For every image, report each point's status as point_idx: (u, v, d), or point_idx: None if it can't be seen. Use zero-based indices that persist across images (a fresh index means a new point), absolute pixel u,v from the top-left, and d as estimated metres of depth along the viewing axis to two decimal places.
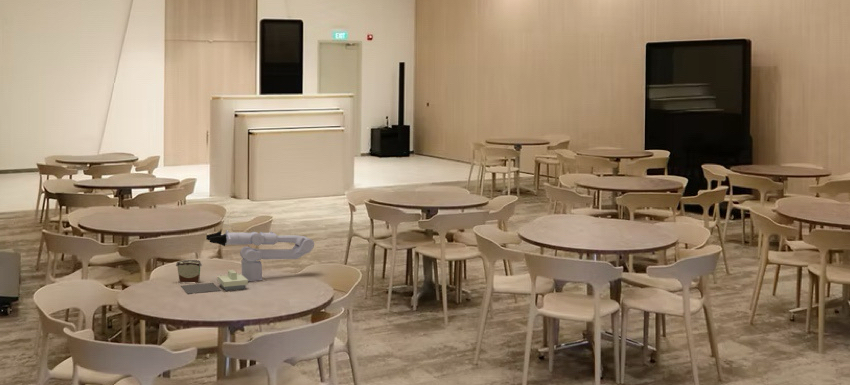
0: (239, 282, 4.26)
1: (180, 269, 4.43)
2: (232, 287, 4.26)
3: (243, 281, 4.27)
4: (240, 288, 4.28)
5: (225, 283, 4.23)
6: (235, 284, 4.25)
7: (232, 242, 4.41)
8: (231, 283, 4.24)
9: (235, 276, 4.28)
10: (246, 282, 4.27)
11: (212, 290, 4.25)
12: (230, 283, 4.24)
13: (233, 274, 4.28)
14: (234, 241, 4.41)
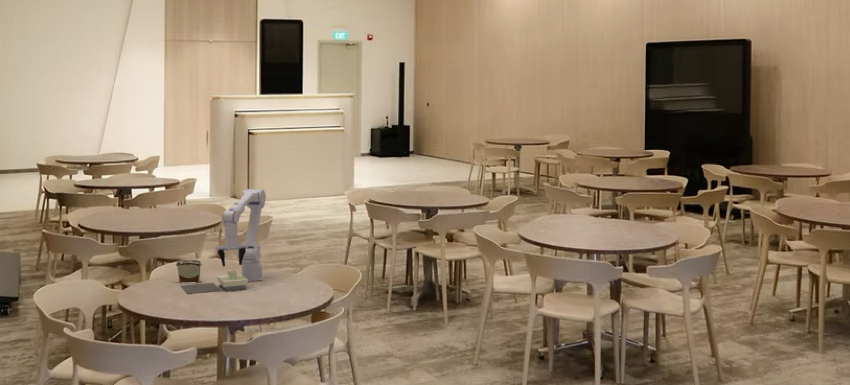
0: (239, 282, 4.26)
1: (180, 269, 4.43)
2: (232, 287, 4.26)
3: (243, 281, 4.27)
4: (240, 288, 4.28)
5: (225, 283, 4.23)
6: (235, 284, 4.25)
7: None
8: (231, 283, 4.24)
9: (235, 276, 4.28)
10: (246, 282, 4.27)
11: (212, 290, 4.25)
12: (230, 283, 4.24)
13: (233, 274, 4.28)
14: None
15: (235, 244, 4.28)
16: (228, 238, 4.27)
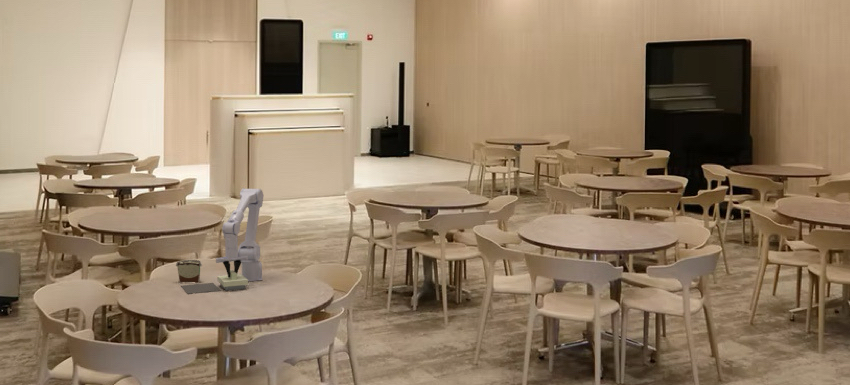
0: (239, 282, 4.26)
1: (180, 269, 4.43)
2: (232, 287, 4.26)
3: (243, 281, 4.27)
4: (240, 288, 4.28)
5: (225, 283, 4.23)
6: (235, 284, 4.25)
7: None
8: (231, 283, 4.24)
9: (235, 276, 4.28)
10: (246, 282, 4.27)
11: (212, 290, 4.25)
12: (230, 283, 4.24)
13: (233, 274, 4.28)
14: None
15: (235, 256, 4.29)
16: (228, 250, 4.28)
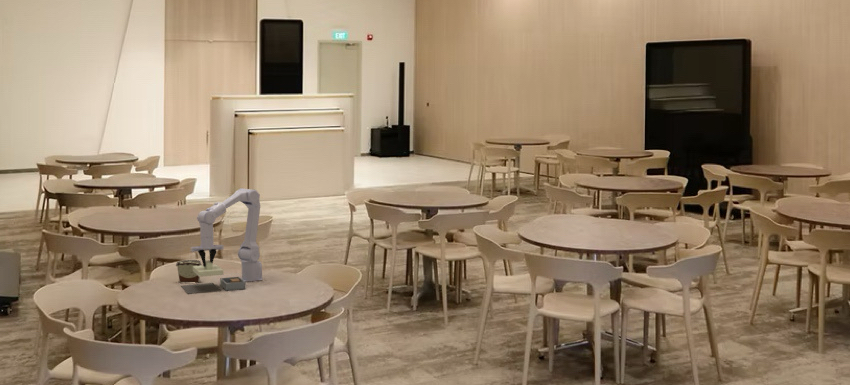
0: (214, 272, 4.24)
1: (180, 269, 4.43)
2: (232, 287, 4.26)
3: (218, 271, 4.24)
4: (240, 288, 4.28)
5: (200, 273, 4.21)
6: (210, 274, 4.23)
7: None
8: (206, 273, 4.22)
9: (210, 266, 4.26)
10: (221, 272, 4.25)
11: (212, 290, 4.25)
12: (205, 273, 4.22)
13: (208, 264, 4.26)
14: None
15: (211, 244, 4.27)
16: (204, 238, 4.25)
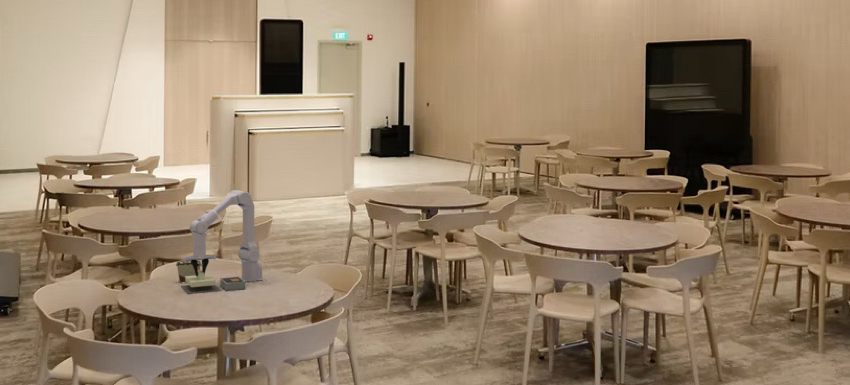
0: (206, 282, 4.24)
1: (180, 269, 4.43)
2: (232, 287, 4.26)
3: (210, 281, 4.25)
4: (240, 288, 4.28)
5: (192, 283, 4.21)
6: (202, 284, 4.23)
7: None
8: (198, 283, 4.22)
9: (203, 276, 4.26)
10: (213, 282, 4.25)
11: (212, 290, 4.25)
12: (197, 283, 4.22)
13: (200, 274, 4.26)
14: None
15: (203, 254, 4.27)
16: (196, 248, 4.26)
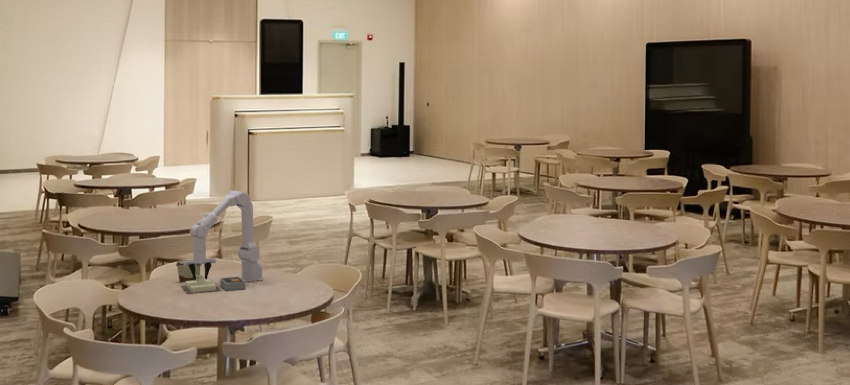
0: (207, 287, 4.24)
1: (180, 269, 4.43)
2: (232, 287, 4.26)
3: (211, 286, 4.25)
4: (240, 288, 4.28)
5: (192, 288, 4.22)
6: (202, 290, 4.23)
7: None
8: (198, 288, 4.23)
9: (203, 282, 4.27)
10: (214, 287, 4.25)
11: (212, 290, 4.25)
12: (197, 288, 4.22)
13: (201, 279, 4.26)
14: None
15: (203, 258, 4.27)
16: (196, 252, 4.26)
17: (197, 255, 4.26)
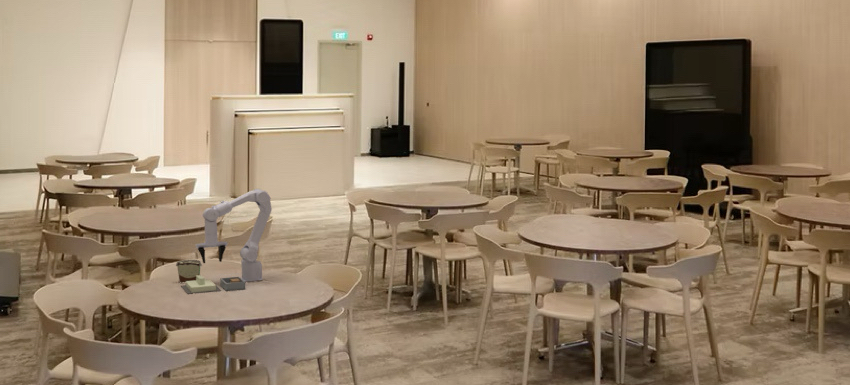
0: (207, 287, 4.24)
1: (180, 269, 4.43)
2: (232, 287, 4.26)
3: (211, 286, 4.25)
4: (240, 288, 4.28)
5: (192, 288, 4.22)
6: (202, 290, 4.23)
7: None
8: (198, 288, 4.23)
9: (203, 282, 4.27)
10: (214, 287, 4.25)
11: (212, 290, 4.25)
12: (197, 288, 4.22)
13: (201, 279, 4.26)
14: None
15: (215, 241, 4.37)
16: (208, 235, 4.36)
17: (209, 238, 4.36)
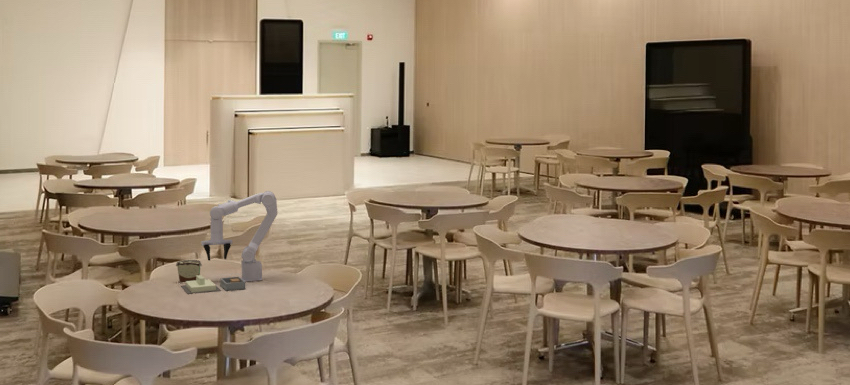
0: (207, 287, 4.24)
1: (180, 269, 4.43)
2: (232, 287, 4.26)
3: (211, 286, 4.25)
4: (240, 288, 4.28)
5: (192, 288, 4.22)
6: (202, 290, 4.23)
7: None
8: (198, 288, 4.23)
9: (203, 282, 4.27)
10: (214, 287, 4.25)
11: (212, 290, 4.25)
12: (197, 288, 4.22)
13: (201, 279, 4.26)
14: None
15: (220, 239, 4.43)
16: (213, 233, 4.41)
17: (214, 236, 4.41)
